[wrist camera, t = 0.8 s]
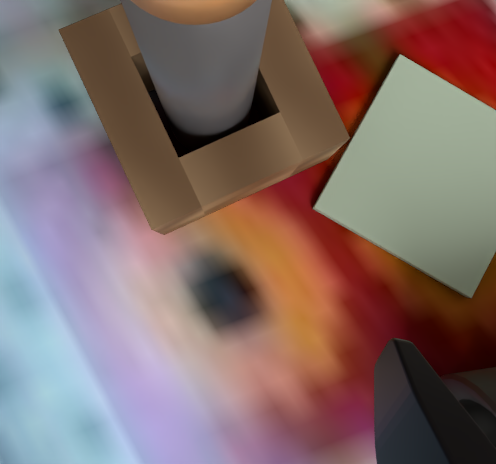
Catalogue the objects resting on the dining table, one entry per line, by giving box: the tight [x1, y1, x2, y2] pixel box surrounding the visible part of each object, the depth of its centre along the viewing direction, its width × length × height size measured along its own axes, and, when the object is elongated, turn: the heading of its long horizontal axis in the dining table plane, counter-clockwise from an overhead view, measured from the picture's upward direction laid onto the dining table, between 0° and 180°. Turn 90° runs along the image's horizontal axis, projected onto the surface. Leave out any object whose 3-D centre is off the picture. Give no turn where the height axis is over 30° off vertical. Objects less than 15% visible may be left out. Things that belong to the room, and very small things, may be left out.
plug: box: [121, 0, 272, 151], centre depth 15 cm, size 4×4×14 cm
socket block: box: [59, 0, 350, 235], centre depth 20 cm, size 9×9×4 cm
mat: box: [312, 54, 496, 298], centre depth 23 cm, size 9×9×1 cm
